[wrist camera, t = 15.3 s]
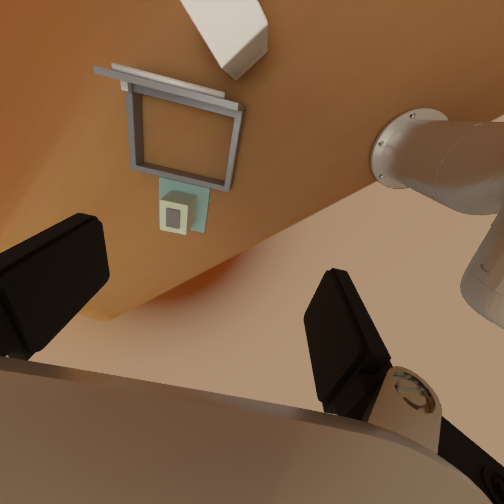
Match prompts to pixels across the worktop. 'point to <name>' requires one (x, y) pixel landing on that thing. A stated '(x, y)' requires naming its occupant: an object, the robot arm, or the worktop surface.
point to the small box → (231, 31)
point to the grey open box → (177, 92)
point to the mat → (200, 191)
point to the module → (177, 212)
